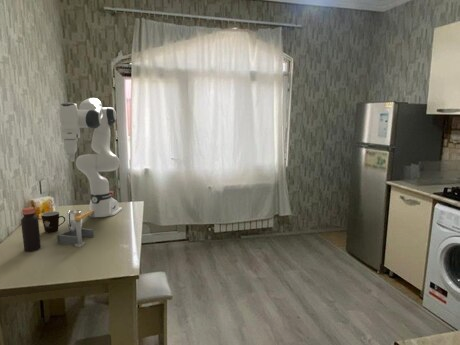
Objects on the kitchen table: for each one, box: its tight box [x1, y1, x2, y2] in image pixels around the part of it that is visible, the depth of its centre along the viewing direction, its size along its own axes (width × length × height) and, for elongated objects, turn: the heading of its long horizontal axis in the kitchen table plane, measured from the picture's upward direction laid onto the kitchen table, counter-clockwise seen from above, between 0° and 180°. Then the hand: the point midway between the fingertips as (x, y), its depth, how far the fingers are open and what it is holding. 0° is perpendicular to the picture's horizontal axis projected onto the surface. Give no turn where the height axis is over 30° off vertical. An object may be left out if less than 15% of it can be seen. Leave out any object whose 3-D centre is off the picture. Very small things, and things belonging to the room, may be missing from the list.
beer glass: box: [66, 209, 84, 240], centre depth 161 cm, size 7×7×15 cm
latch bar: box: [75, 210, 96, 221], centre depth 159 cm, size 15×3×4 cm, turn 173°
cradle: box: [56, 221, 95, 248], centre depth 160 cm, size 13×14×12 cm
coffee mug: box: [40, 210, 66, 234], centre depth 173 cm, size 12×9×10 cm
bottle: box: [20, 206, 42, 253], centre depth 149 cm, size 7×7×20 cm
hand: (72, 161), depth 165 cm, fingers closed
